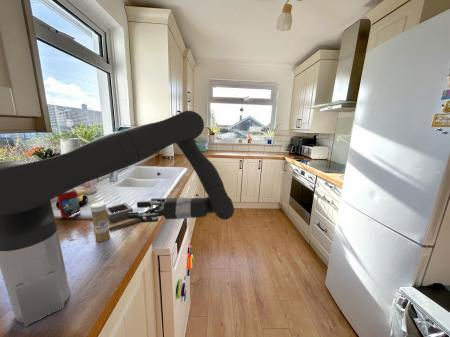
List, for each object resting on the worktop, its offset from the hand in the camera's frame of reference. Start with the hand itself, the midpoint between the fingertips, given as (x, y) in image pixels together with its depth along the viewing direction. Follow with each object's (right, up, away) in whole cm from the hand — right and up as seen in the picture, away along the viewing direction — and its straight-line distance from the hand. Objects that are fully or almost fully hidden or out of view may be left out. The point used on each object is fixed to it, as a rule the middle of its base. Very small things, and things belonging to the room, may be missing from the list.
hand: (132, 209), depth 67 cm
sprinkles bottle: (-12, -11, +1) cm, 16 cm away
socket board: (-14, -7, +17) cm, 23 cm away
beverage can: (-37, -7, +18) cm, 42 cm away
